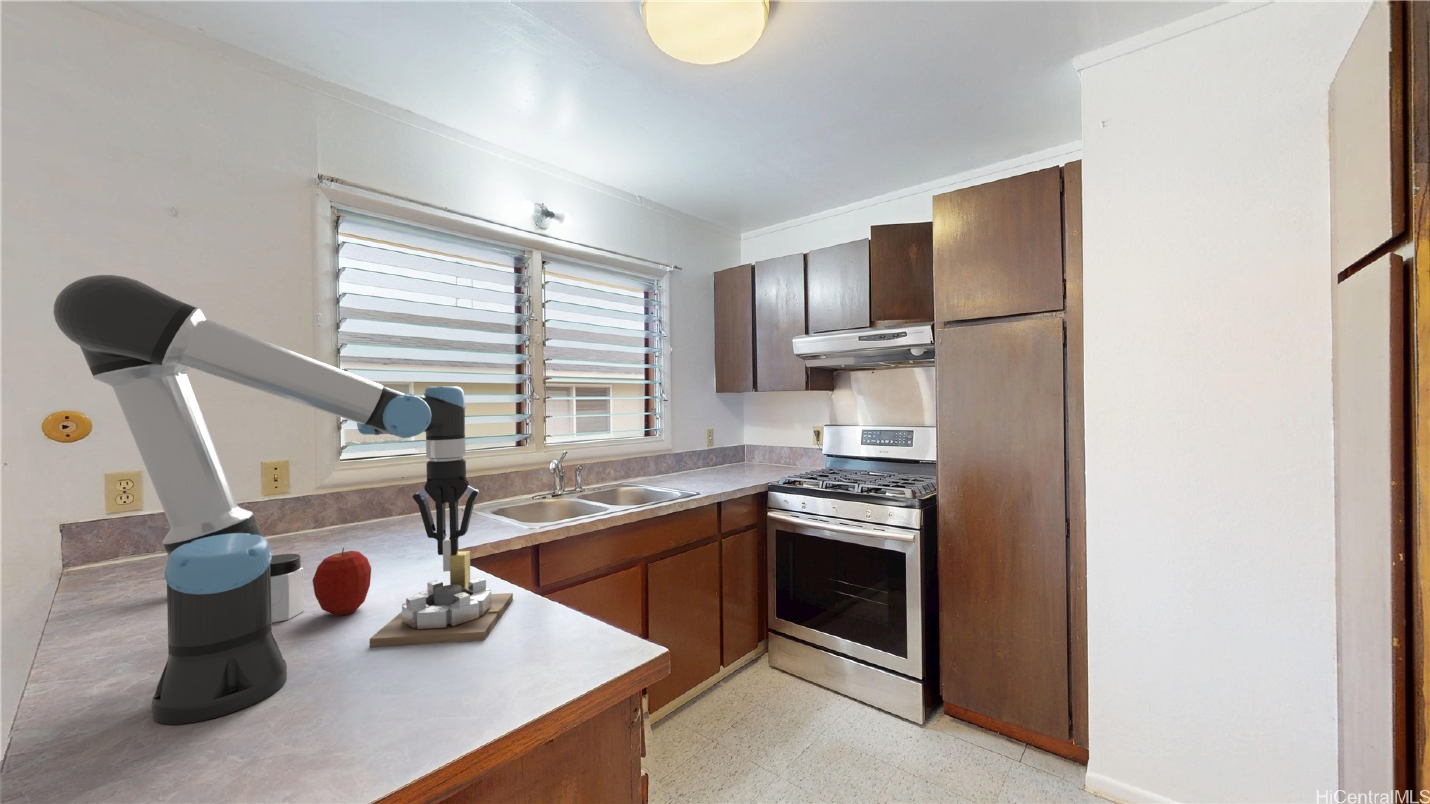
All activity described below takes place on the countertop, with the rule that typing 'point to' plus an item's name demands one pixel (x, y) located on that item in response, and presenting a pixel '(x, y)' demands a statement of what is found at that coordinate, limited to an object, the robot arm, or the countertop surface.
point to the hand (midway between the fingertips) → (448, 569)
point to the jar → (286, 587)
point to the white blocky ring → (464, 605)
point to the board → (467, 631)
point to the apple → (342, 582)
